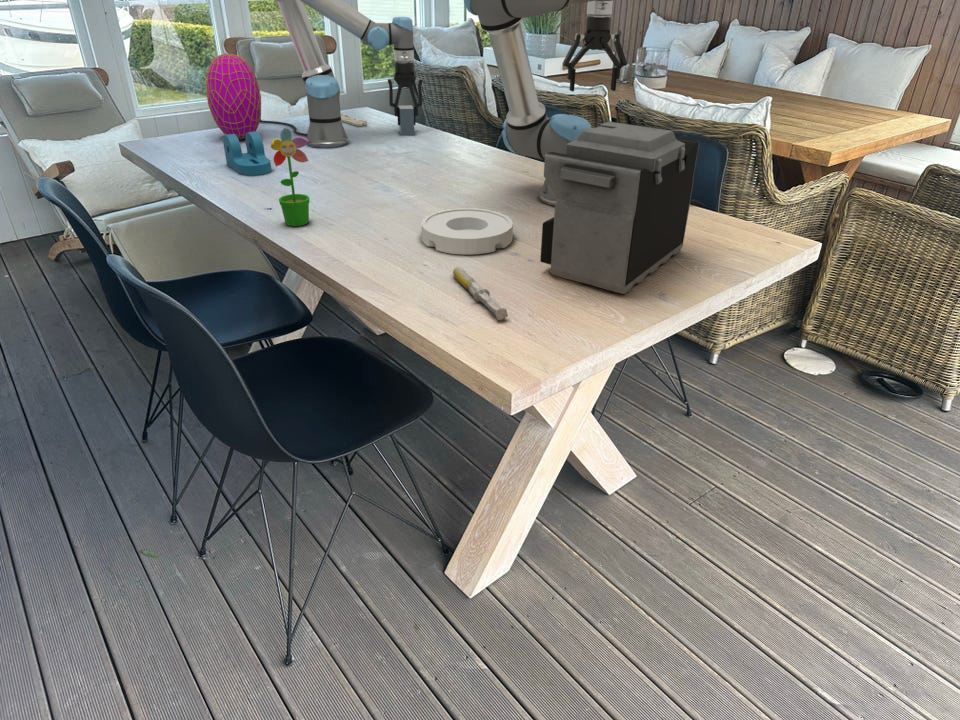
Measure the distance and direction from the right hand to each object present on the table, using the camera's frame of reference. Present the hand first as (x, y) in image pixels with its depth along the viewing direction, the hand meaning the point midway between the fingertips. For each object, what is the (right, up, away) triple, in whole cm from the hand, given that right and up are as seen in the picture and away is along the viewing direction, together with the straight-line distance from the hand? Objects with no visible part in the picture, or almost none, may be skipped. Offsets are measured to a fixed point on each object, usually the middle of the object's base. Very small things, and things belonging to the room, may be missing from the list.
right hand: (592, 90), depth 218 cm
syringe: (-36, -73, -73) cm, 109 cm away
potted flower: (-84, -49, -35) cm, 104 cm away
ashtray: (-39, -55, -43) cm, 80 cm away
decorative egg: (-129, 0, +48) cm, 137 cm away
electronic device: (-4, -63, -56) cm, 84 cm away
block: (-65, +6, +59) cm, 88 cm away
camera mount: (-112, -22, +11) cm, 115 cm away
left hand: (-65, +9, +57) cm, 87 cm away
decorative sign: (-94, +17, +77) cm, 123 cm away
